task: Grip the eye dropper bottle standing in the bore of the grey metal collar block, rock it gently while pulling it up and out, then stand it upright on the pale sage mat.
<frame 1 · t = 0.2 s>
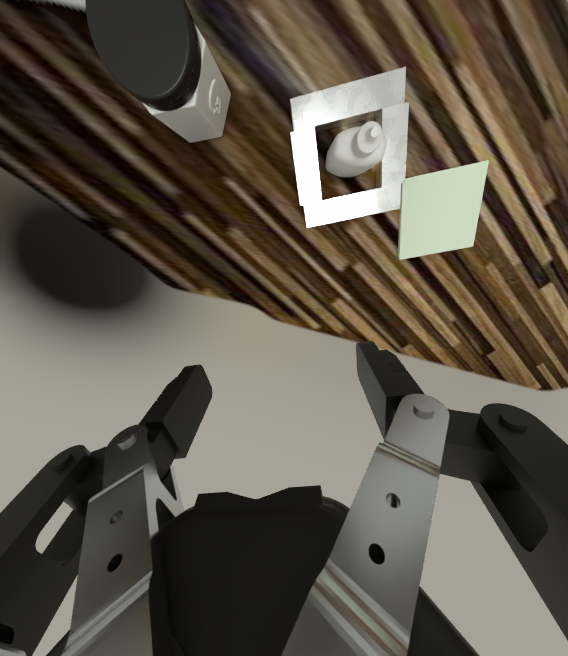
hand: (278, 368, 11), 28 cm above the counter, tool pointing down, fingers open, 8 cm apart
collar block: (345, 162, 30), on the counter
eye dropper bottle: (345, 163, 30), resting in collar block
sage mat: (437, 214, 33), on the counter
jar: (198, 102, 28), on the counter
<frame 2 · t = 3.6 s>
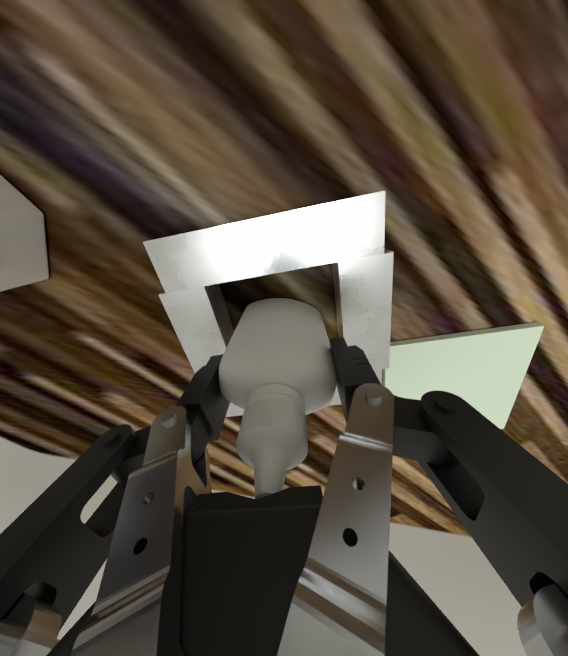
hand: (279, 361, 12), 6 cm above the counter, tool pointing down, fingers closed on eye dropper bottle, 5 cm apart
collar block: (282, 318, 17), on the counter
eye dropper bottle: (283, 317, 17), resting in collar block, touching gripper
sage mat: (446, 386, 19), on the counter
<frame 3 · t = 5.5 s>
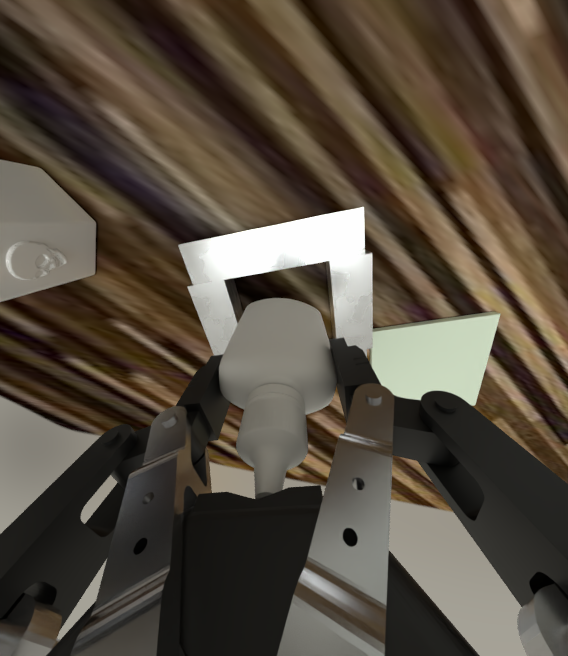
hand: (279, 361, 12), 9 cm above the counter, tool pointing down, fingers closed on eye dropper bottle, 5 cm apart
collar block: (285, 307, 20), on the counter
eye dropper bottle: (283, 317, 17), point 3 cm above the counter, touching gripper
sage mat: (424, 367, 23), on the counter
jar: (50, 229, 18), on the counter
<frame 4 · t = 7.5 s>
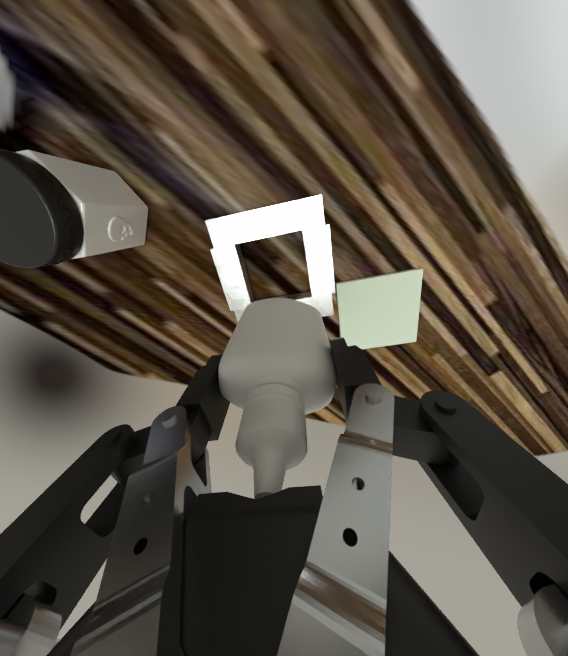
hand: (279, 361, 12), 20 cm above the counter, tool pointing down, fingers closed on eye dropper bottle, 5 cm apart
collar block: (276, 267, 29), on the counter
eye dropper bottle: (282, 317, 17), point 14 cm above the counter, touching gripper
sage mat: (377, 312, 31), on the counter
jar: (115, 213, 27), on the counter
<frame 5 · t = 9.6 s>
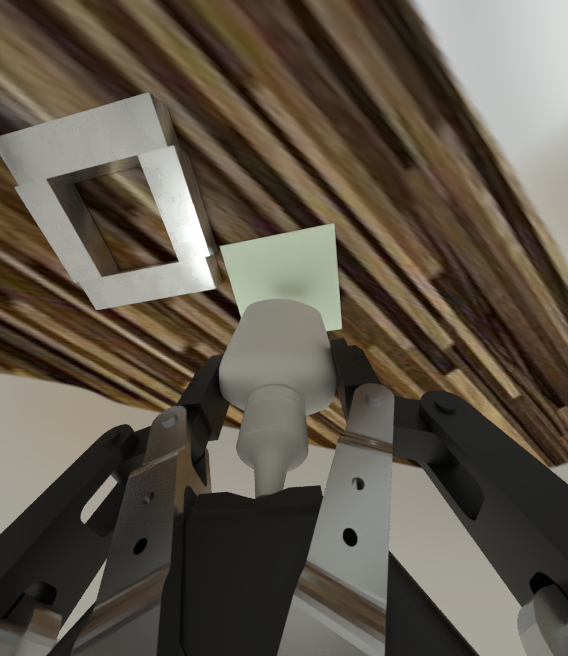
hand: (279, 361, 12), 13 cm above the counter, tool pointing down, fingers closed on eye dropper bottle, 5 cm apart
collar block: (135, 222, 21), on the counter
eye dropper bottle: (283, 317, 17), point 7 cm above the counter, touching gripper
sage mat: (285, 289, 23), on the counter
when the fingers open (8 cm above the counter, at t = 11.5 s): eye dropper bottle drops 1 cm, resting on sage mat.
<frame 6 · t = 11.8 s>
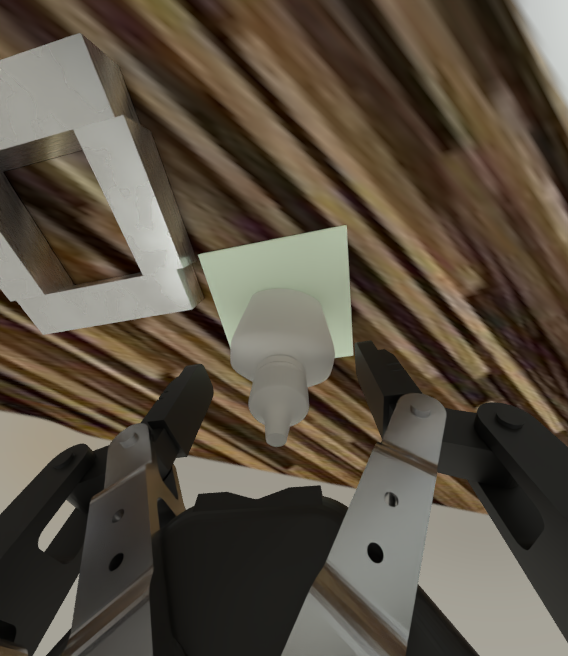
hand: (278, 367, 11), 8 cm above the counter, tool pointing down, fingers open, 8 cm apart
collar block: (88, 223, 16), on the counter
eye dropper bottle: (285, 307, 18), resting on sage mat
sage mat: (283, 307, 19), on the counter
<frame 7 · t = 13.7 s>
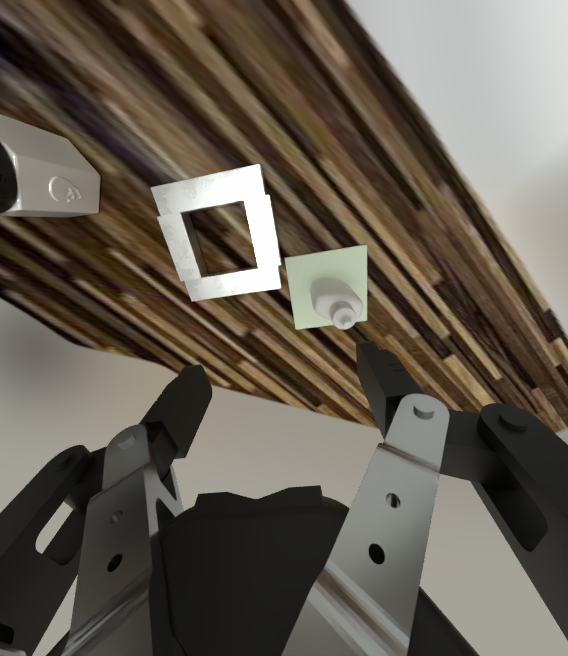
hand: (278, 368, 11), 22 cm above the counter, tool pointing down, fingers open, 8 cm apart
collar block: (226, 240, 30), on the counter
eye dropper bottle: (329, 289, 32), resting on sage mat
sage mat: (327, 289, 32), on the counter
jar: (70, 181, 28), on the counter
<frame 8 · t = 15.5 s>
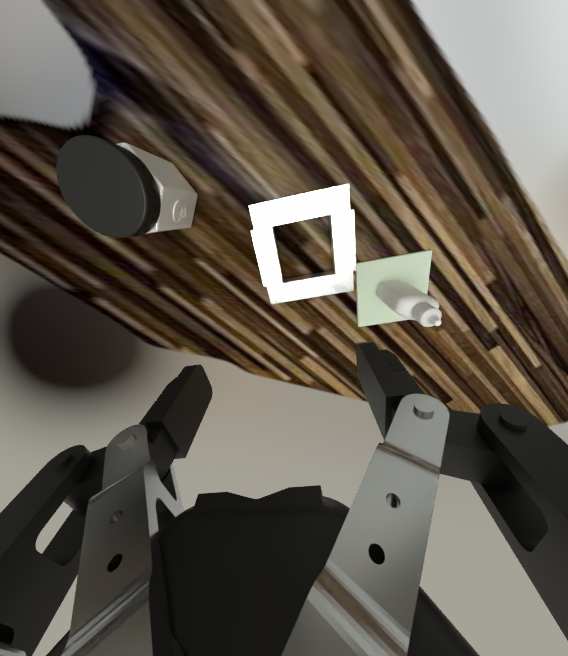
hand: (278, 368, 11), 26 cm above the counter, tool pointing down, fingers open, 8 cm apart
collar block: (304, 248, 33), on the counter
eye dropper bottle: (393, 290, 35), resting on sage mat
sage mat: (390, 290, 36), on the counter
jar: (168, 199, 31), on the counter
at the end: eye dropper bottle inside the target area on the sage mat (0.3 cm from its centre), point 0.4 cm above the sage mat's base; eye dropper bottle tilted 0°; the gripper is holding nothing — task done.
